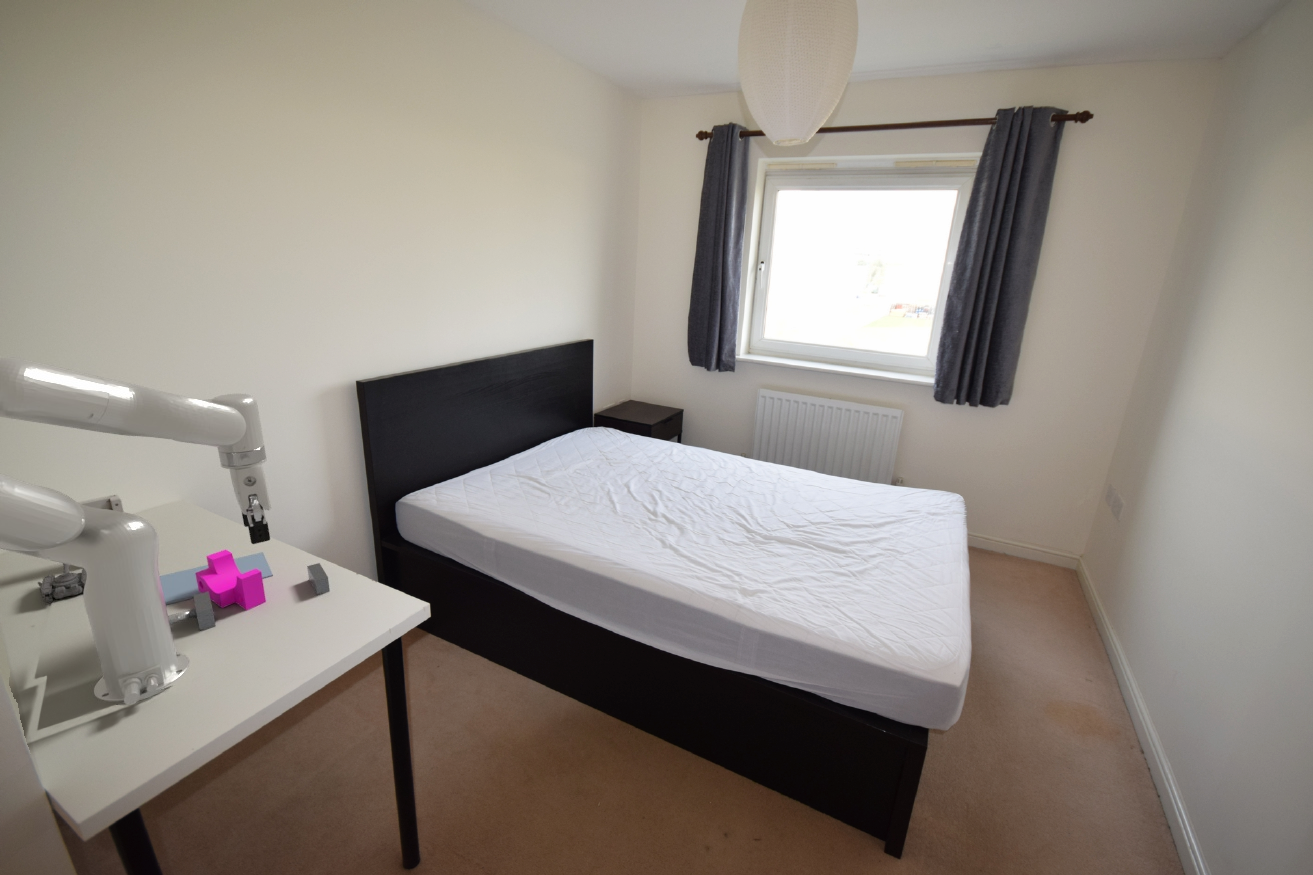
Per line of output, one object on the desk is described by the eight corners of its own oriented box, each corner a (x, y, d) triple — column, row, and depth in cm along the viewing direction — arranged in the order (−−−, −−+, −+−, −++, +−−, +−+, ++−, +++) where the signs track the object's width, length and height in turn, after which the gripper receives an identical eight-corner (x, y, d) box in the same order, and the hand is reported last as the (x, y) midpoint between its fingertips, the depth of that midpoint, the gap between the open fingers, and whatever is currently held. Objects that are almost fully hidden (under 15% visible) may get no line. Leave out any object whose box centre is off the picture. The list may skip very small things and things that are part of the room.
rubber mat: (273, 577, 132) (272, 574, 132) (148, 609, 118) (147, 606, 118) (263, 554, 142) (262, 552, 142) (146, 581, 128) (146, 579, 128)
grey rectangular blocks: (330, 592, 127) (328, 577, 126) (163, 641, 109) (159, 622, 108) (321, 578, 133) (319, 562, 132) (162, 621, 114) (158, 604, 113)
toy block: (198, 590, 124) (192, 560, 122) (231, 578, 130) (225, 549, 127) (233, 615, 117) (227, 584, 115) (265, 601, 123) (261, 571, 120)
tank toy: (41, 584, 126) (35, 563, 124) (100, 571, 132) (95, 551, 131) (37, 608, 117) (31, 586, 116) (100, 593, 124) (95, 572, 122)
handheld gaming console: (129, 549, 142) (117, 493, 138) (133, 553, 140) (121, 497, 136) (78, 562, 135) (63, 504, 130) (82, 567, 133) (66, 508, 128)
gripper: (272, 464, 110) (286, 543, 115) (258, 441, 122) (271, 514, 127) (225, 472, 105) (241, 554, 110) (215, 448, 117) (229, 523, 122)
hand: (257, 533), depth 119 cm, fingers open, 9 cm apart
